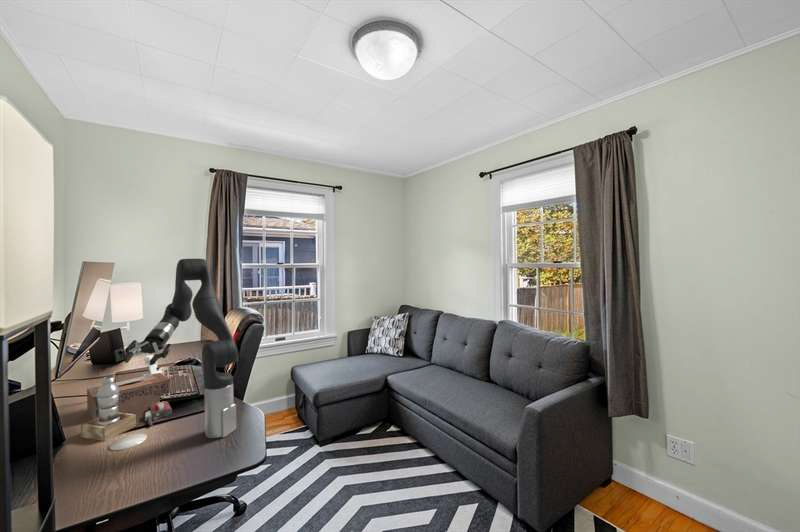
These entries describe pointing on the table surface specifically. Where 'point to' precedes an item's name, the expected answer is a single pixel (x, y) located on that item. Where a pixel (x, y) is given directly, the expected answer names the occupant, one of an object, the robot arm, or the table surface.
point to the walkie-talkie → (157, 411)
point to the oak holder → (108, 427)
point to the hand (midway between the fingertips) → (138, 362)
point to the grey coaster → (128, 442)
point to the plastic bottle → (108, 402)
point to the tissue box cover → (132, 393)
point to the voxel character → (151, 366)
